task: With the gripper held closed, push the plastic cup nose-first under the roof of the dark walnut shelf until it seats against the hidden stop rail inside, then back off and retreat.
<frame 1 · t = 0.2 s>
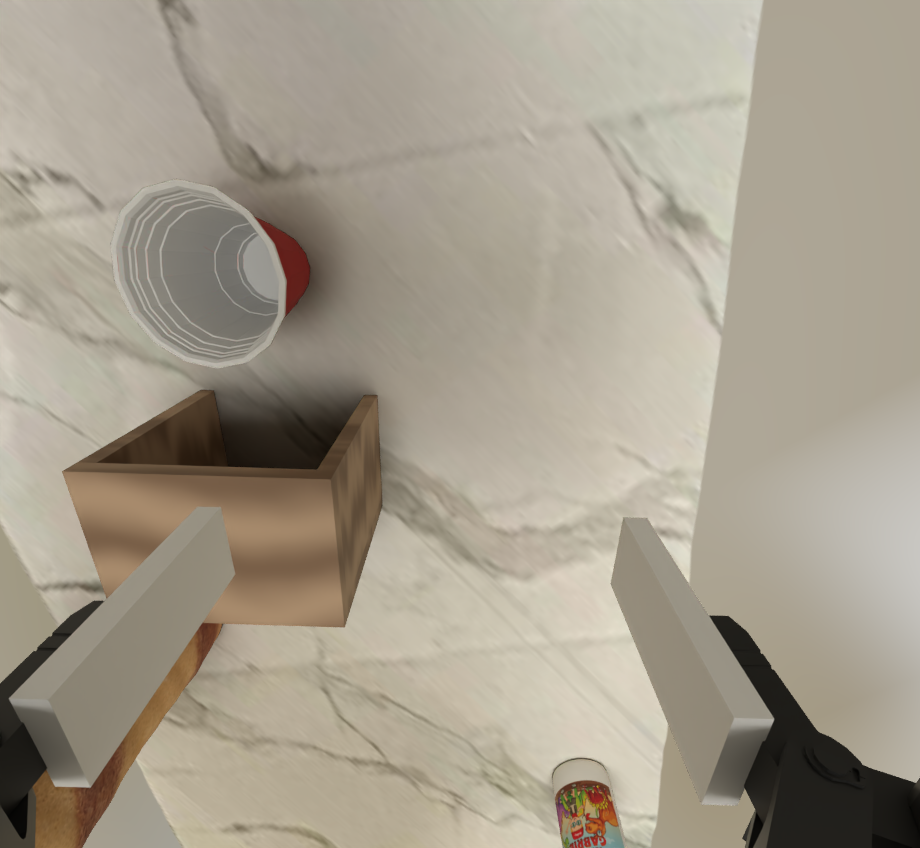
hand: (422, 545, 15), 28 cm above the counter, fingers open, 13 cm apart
milk bottle: (578, 772, 64), on the counter
wafer roll: (179, 608, 53), on the counter
shelf: (296, 450, 45), on the counter
plastic cup: (274, 267, 38), on the counter
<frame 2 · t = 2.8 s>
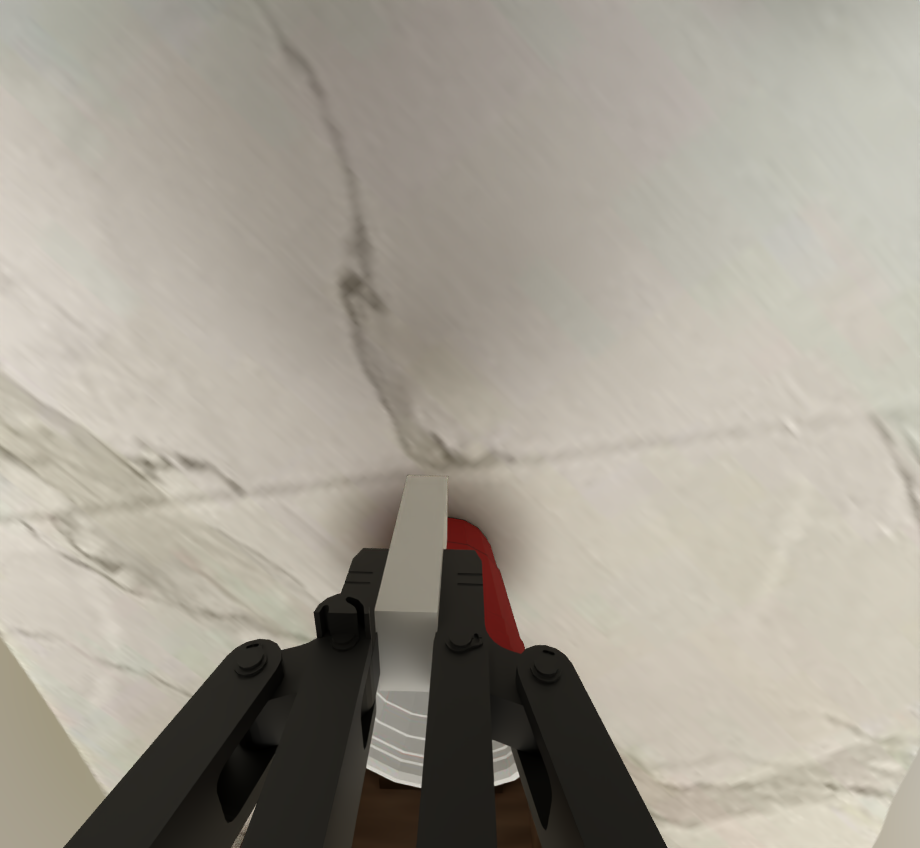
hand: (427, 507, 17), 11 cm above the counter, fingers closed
shelf: (443, 715, 38), on the counter
plastic cup: (445, 549, 31), on the counter
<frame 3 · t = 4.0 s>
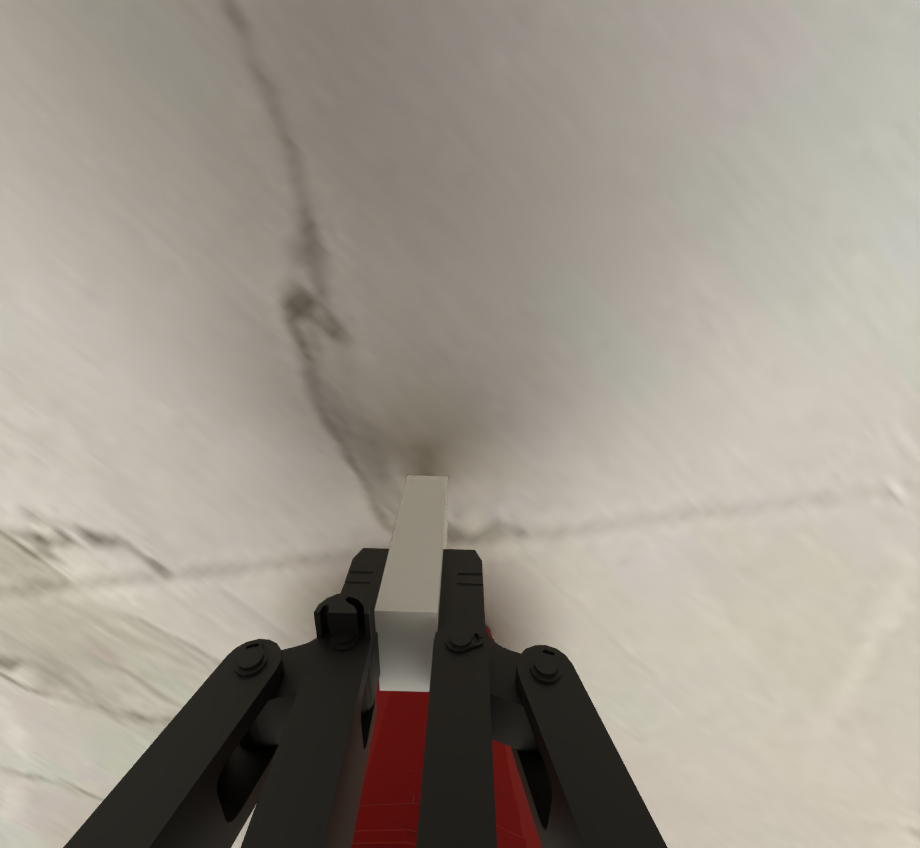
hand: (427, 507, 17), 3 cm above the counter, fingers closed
plastic cup: (435, 641, 24), on the counter
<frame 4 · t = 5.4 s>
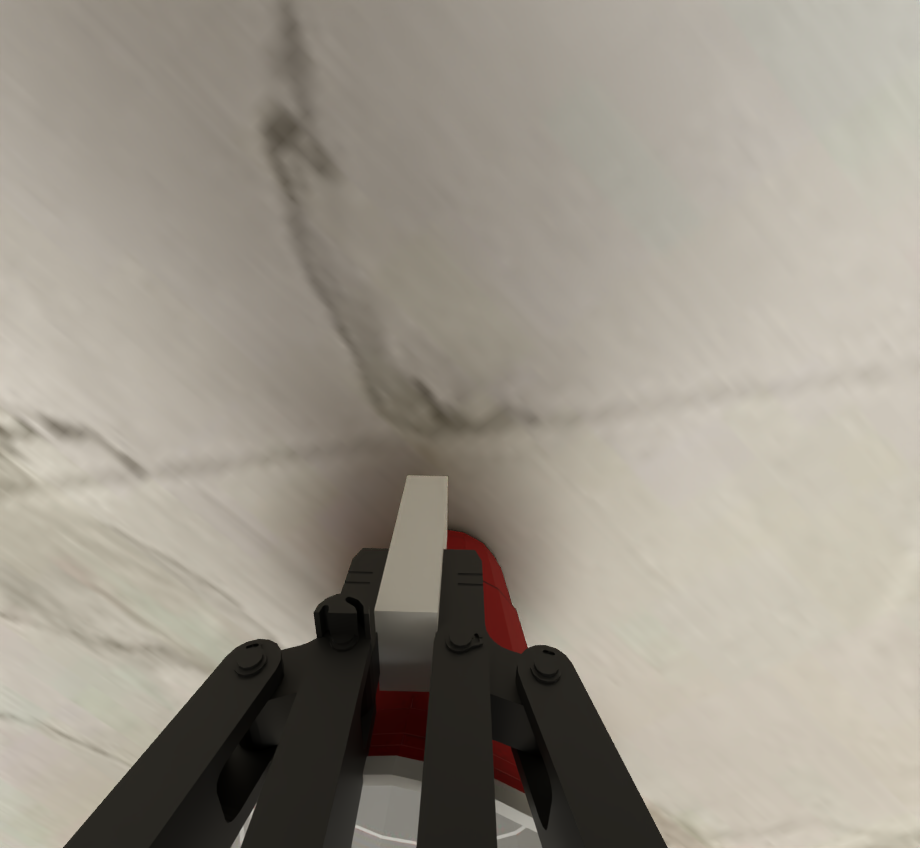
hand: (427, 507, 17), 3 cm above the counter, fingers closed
plastic cup: (437, 571, 22), on the counter, touching gripper
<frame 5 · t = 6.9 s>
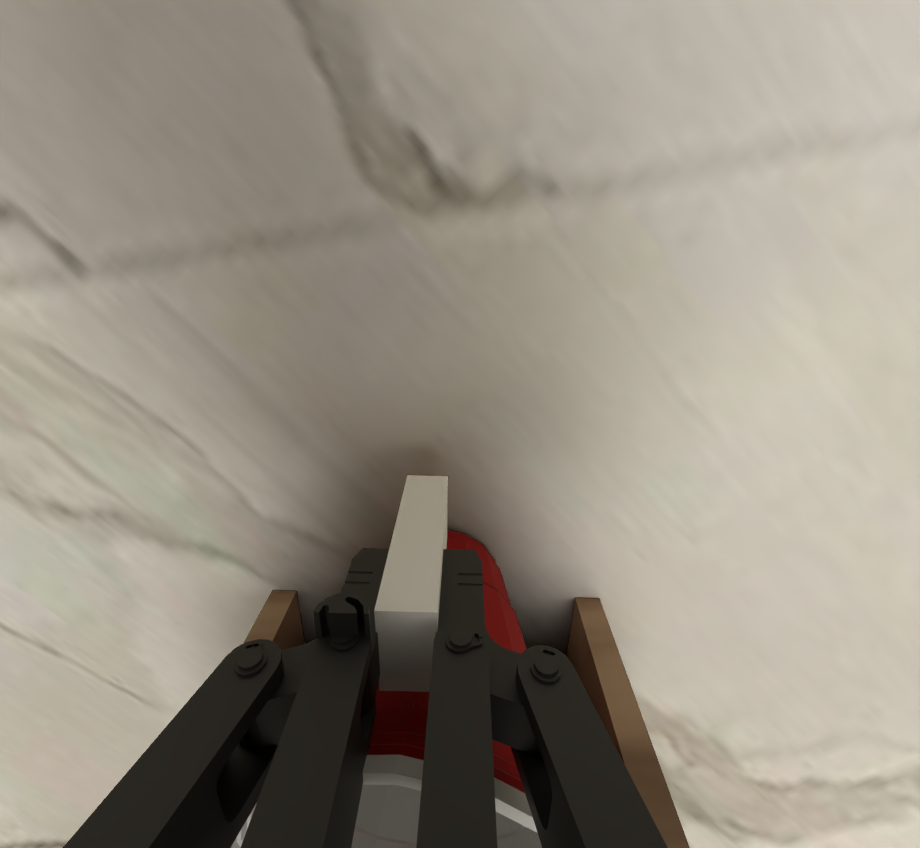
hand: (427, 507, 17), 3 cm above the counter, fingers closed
shelf: (435, 678, 25), on the counter
plastic cup: (435, 572, 22), on the counter, touching gripper
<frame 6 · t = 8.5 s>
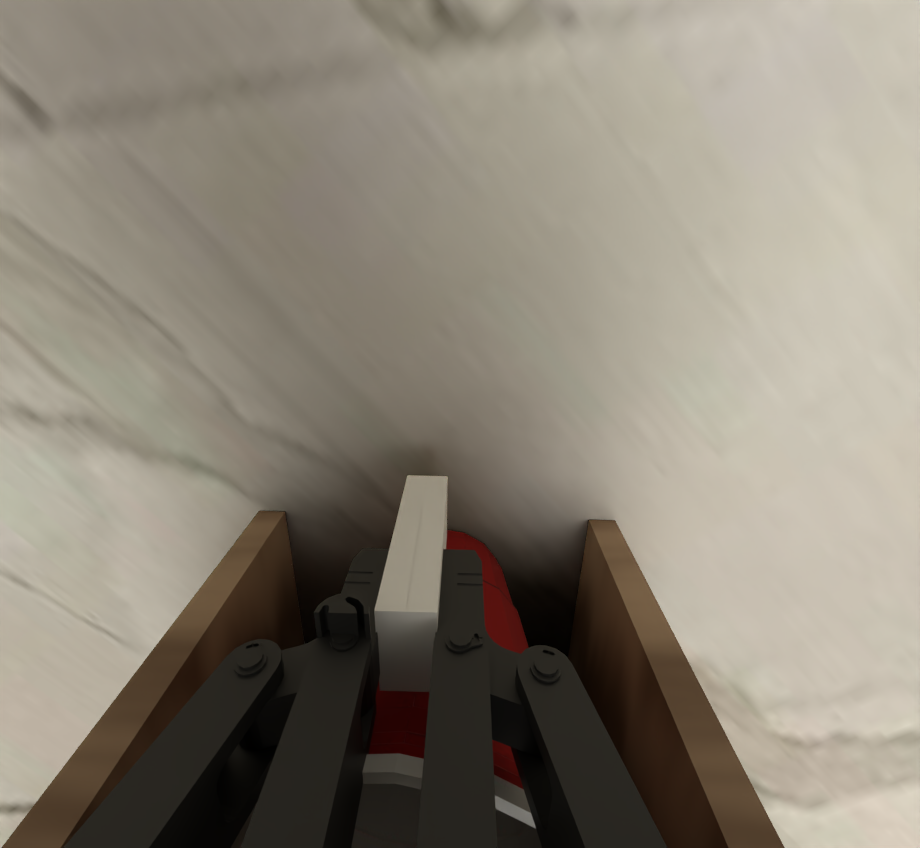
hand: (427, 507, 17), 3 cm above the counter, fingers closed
shelf: (436, 615, 23), on the counter
plastic cup: (437, 572, 22), on the counter, touching gripper
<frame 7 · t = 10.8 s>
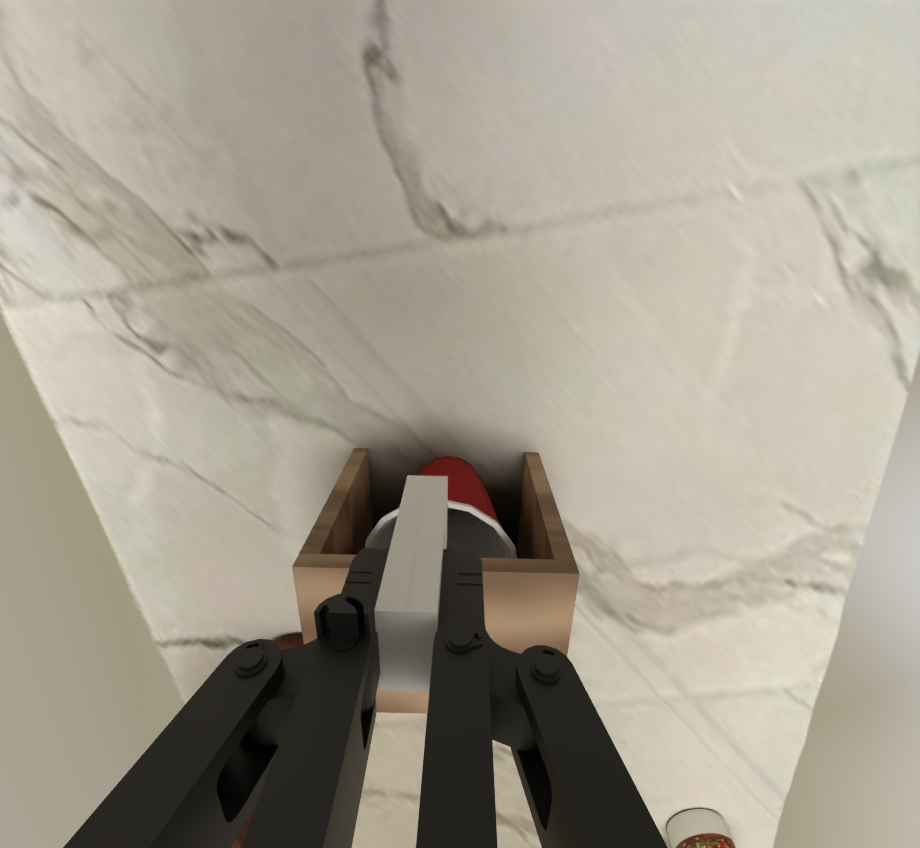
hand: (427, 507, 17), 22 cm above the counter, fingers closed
milk bottle: (693, 822, 62), on the counter
wafer roll: (301, 663, 51), on the counter
shelf: (445, 508, 43), on the counter
plastic cup: (446, 482, 42), on the counter
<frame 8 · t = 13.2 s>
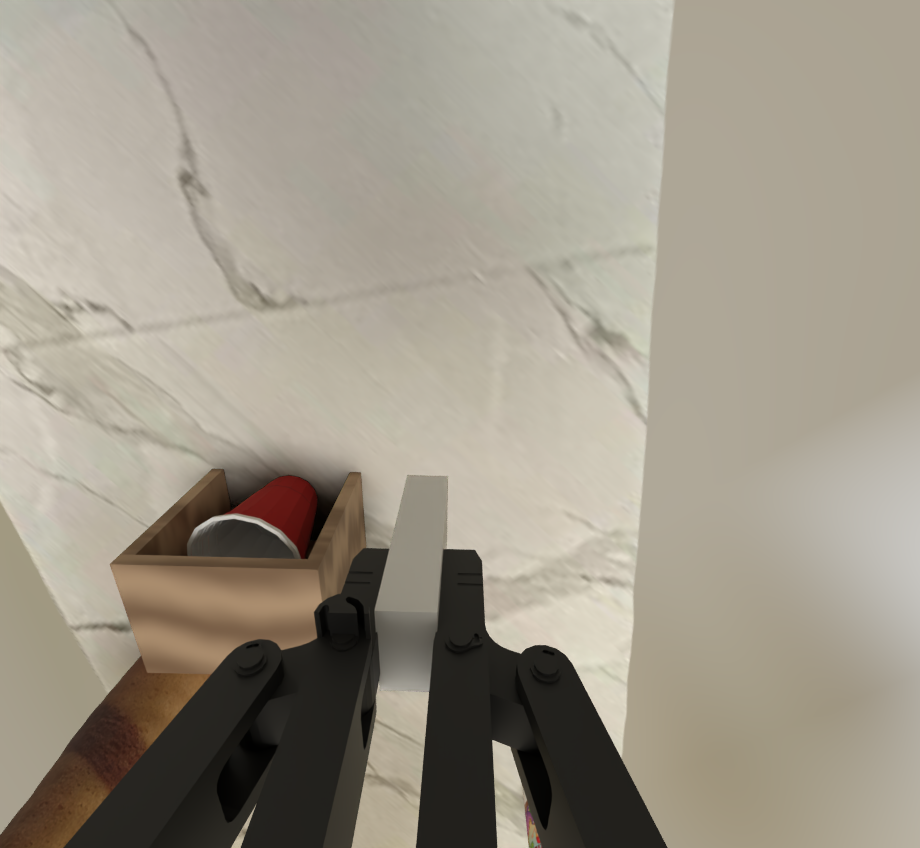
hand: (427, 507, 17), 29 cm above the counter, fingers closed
milk bottle: (547, 783, 72), on the counter
wafer roll: (193, 644, 61), on the counter
shelf: (293, 516, 53), on the counter
plastic cup: (291, 496, 52), on the counter
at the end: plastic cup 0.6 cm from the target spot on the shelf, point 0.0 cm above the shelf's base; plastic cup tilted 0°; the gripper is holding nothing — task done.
